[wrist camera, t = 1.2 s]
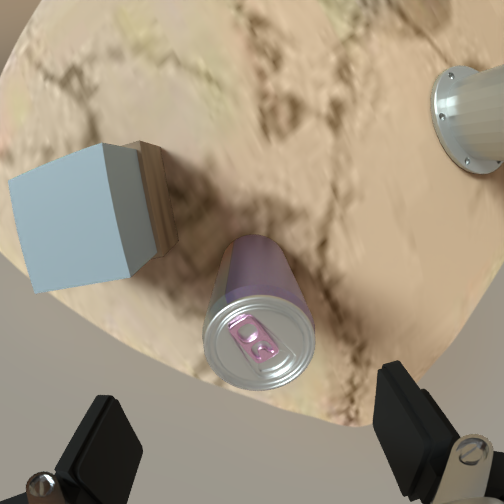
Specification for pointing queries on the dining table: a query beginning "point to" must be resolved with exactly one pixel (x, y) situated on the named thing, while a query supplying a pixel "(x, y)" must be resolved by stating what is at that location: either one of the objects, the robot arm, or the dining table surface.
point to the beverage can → (257, 318)
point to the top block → (83, 218)
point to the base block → (156, 196)
